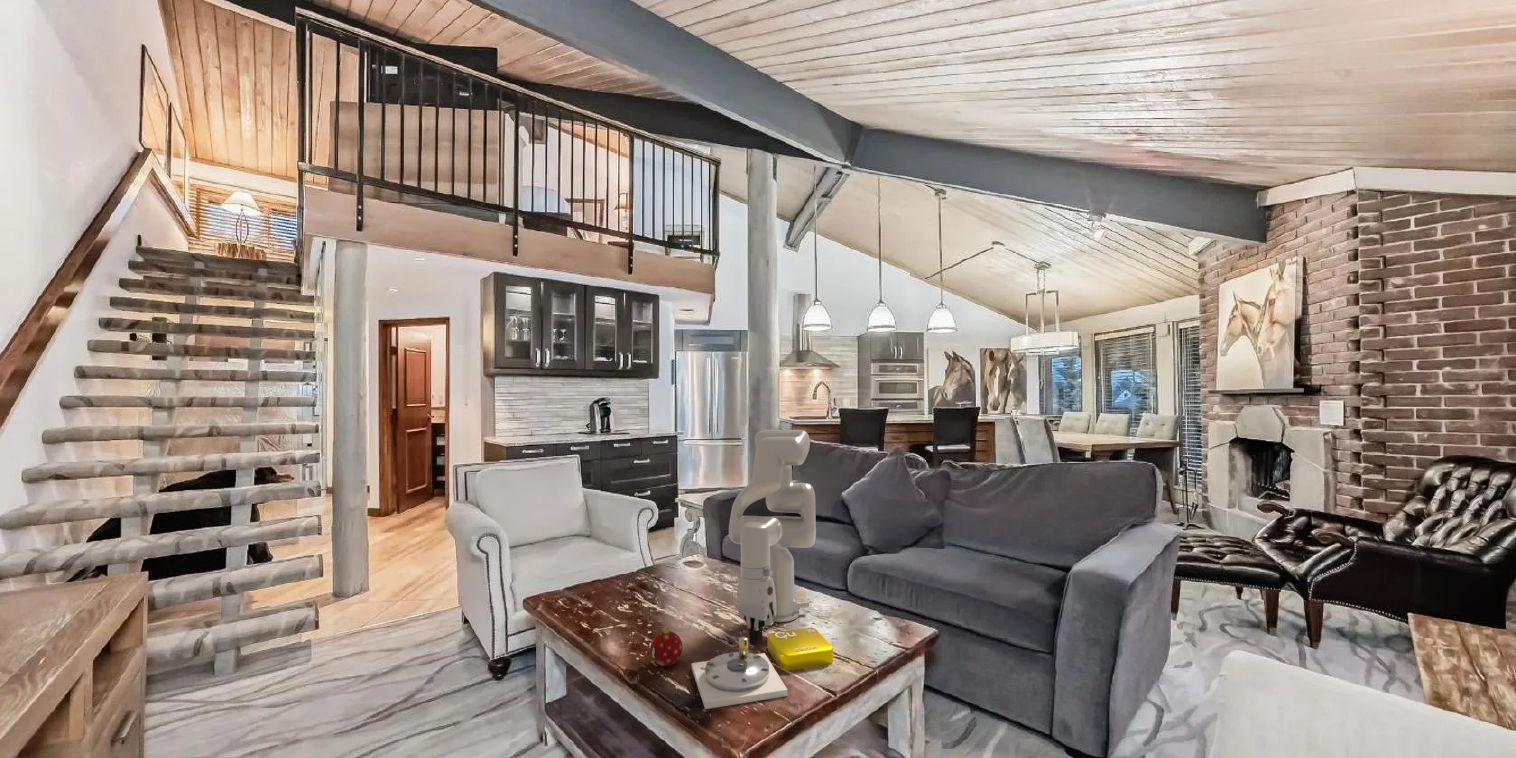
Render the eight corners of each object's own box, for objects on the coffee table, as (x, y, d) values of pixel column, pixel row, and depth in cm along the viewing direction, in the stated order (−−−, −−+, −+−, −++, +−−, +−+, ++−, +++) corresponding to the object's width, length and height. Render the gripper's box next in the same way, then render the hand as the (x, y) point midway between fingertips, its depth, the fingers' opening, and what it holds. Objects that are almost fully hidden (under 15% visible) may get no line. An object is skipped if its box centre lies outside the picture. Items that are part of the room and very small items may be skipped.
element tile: (782, 673, 155) (782, 654, 155) (765, 648, 170) (765, 631, 170) (835, 664, 160) (835, 646, 160) (814, 641, 174) (814, 624, 174)
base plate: (764, 658, 162) (764, 652, 162) (787, 695, 143) (787, 688, 143) (691, 668, 157) (691, 662, 157) (705, 709, 138) (705, 701, 138)
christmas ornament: (689, 664, 160) (688, 627, 160) (662, 675, 154) (661, 636, 154) (670, 653, 166) (670, 618, 166) (644, 664, 160) (643, 627, 160)
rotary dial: (760, 694, 140) (759, 667, 140) (696, 686, 144) (695, 659, 144) (775, 663, 156) (775, 638, 156) (717, 656, 160) (716, 632, 160)
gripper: (787, 573, 152) (788, 646, 151) (742, 563, 161) (743, 632, 161) (768, 581, 146) (769, 657, 145) (724, 569, 155) (724, 641, 155)
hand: (755, 643), depth 153 cm, fingers closed
